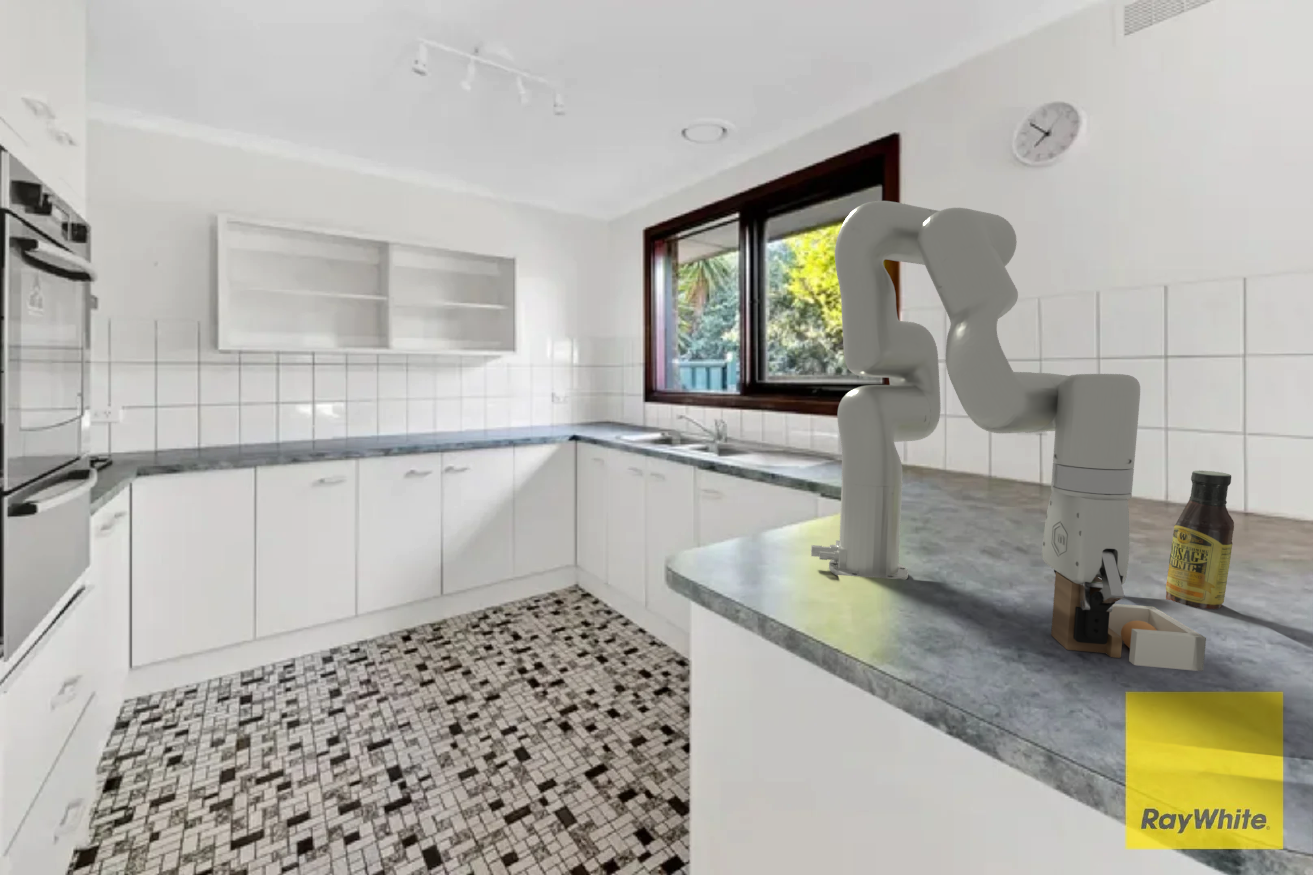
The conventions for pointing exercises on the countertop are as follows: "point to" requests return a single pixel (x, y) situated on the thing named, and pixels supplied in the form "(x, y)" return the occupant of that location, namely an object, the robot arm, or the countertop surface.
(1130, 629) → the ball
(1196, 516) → the sauce bottle
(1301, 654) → the countertop surface
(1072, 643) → the board
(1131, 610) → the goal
